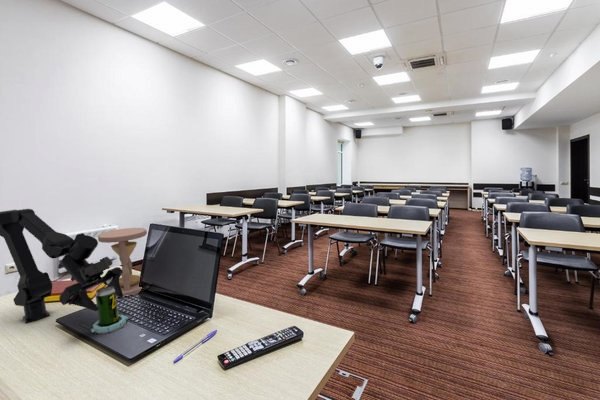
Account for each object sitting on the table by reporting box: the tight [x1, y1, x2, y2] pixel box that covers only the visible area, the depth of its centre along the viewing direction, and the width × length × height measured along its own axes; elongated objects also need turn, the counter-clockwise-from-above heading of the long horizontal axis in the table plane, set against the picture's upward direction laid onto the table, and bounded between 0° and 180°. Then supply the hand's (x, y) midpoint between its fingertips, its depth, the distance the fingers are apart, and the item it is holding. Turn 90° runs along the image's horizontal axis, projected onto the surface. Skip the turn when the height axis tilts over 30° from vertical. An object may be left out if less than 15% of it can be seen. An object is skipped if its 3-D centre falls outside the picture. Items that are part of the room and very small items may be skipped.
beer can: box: [95, 286, 119, 327], centre depth 97 cm, size 5×5×12 cm
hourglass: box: [97, 227, 148, 297], centre depth 126 cm, size 18×18×25 cm
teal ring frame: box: [90, 314, 129, 334], centre depth 97 cm, size 9×10×2 cm
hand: (110, 303), depth 96 cm, fingers open, 9 cm apart
